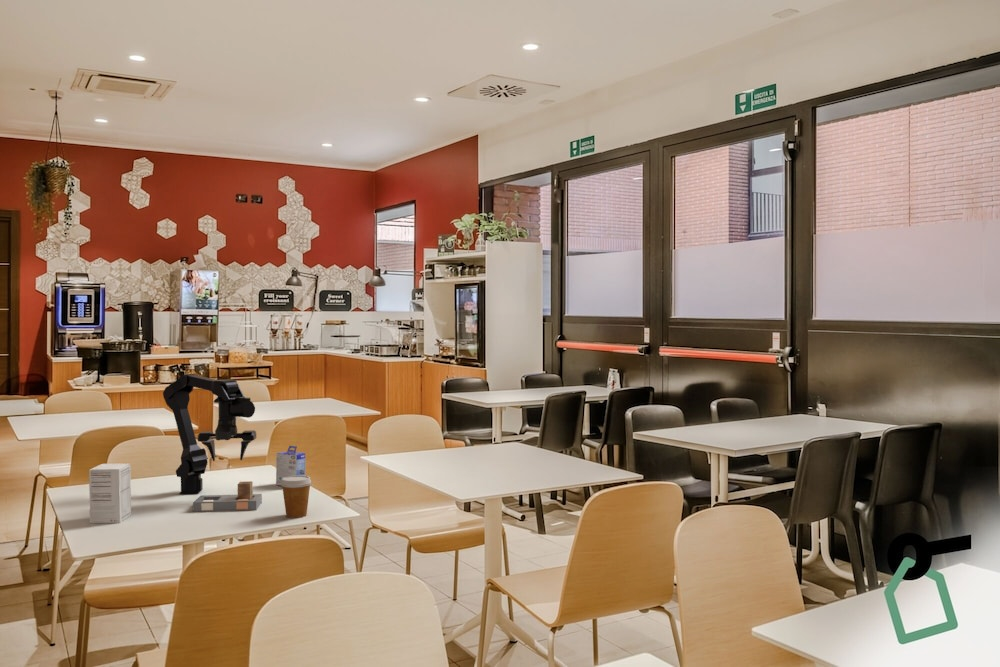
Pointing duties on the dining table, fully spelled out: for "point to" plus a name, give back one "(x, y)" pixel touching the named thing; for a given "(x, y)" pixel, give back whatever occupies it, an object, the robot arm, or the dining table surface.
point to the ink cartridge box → (289, 464)
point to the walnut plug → (245, 490)
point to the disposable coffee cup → (296, 495)
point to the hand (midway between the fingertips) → (227, 460)
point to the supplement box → (110, 493)
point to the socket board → (226, 503)
